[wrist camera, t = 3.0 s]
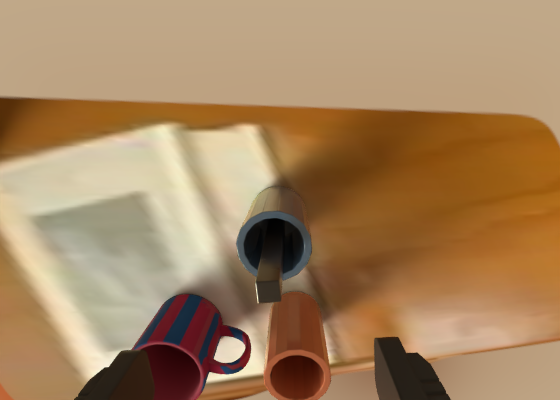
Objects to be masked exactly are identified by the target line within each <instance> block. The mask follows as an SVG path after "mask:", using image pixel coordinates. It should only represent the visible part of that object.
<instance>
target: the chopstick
mask: <svg viewBox="0 0 560 400" xmlns="http://www.w3.org/2000/svg"><path fill="white" fill-rule="evenodd" d="M284 237H285V220H282V219H279V218H271V219H269V221H268V226H267V230H266V235H265V240H264V244H263V249H262V253H261V258H260V263H259V267H258V272H257V277H256V281H255V286H256V294H257V302H258V303H270V302H281V299H282V278H283V257H284Z"/></svg>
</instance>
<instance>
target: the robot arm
mask: <svg viewBox="0 0 560 400" xmlns="http://www.w3.org/2000/svg"><path fill="white" fill-rule="evenodd" d="M374 356H375V381H376V388H377V392H378V396H379V400H450V397H449V396H448V394H446V391H445V389H444V387H443V385H442V383H441V382H439V378H438V376H437V375H436V373H435V371H434V369H433V368H432V366H431V364H430V363H428V362H427V361H426V360H425V359H424V358H423V357H422V356H420V355H419V354H418V353H406V352H405V350H404V348H403V346H402V344H401V342H400V340H399V338H398V337H382V338H375V340H374ZM154 393H155V385H154V380H153V376H152V372H151V367H150V363H149V359H148V355H147V352H146V351H145V350H124V351H121V352H120V353H119V354H118V355H117V357H116V358H115V359H114V361H113V362H112V363H111V365H110V366H109V367H105V368H104V369H102V370H101V371H100V372H99V373H97V374H96V375H95V376H94V377H92V378H91V379H90V380H89V381H88V382H87V384H86V385H85V386H84V388H83V389H82V390H81V391H80V393H79V394H78V397H76V398H75V399H74V400H153V399H154Z"/></svg>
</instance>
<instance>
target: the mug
mask: <svg viewBox="0 0 560 400" xmlns="http://www.w3.org/2000/svg"><path fill="white" fill-rule="evenodd" d="M221 336H229V337H234V338H237V339H239V340H241V341H242V342H243V343H244V344H245V351H244V353H243V355H242V356H241V357H240V358H239V359H238V360H236V361H234V362H231V363H220V362H218V361H216V360H215V359H214V356H215V353H216V349H217V346H218V343H219V340H220V338H221ZM132 350H145V351H146V352H147V355H148V359H149V363H150V367H151V372H152V376H153V380H154V385H155V393H154V399H153V400H196V399H197V398H198V397H199V396H200V394H201V393H202V391H203V389H204V386H205V383H206V380H207V377H208V374H209V372H213V373H217V374H233V373H236V372H239V371H240V370H242V369H243V368H244V367H245V366H246V364H247V363H248V361H249V358H250V354H251V343H250V339H249V337H248V335H247V334H246V333H245V332H243V331H242V330H240V329H238V328H235V327H231V326H227V325H223V322H222V318H221V315H220V313H219V311H218V310H217V308H216V307H215V306H214V305H213V304H212V303H211V302H209V301H208V300H206V299H204V298H202V297H200V296H196V295H191V294H183V295H178V296H174V297H172V298H170V299H169V300H167V301H166V302H165V303H164V304H163V305H162V306H161V308H160V309H159V311H158V312H157V314H156V315H155V316H154V318H153V319H152V321H151V322H150V324H149V325H148V327H147V328H146V329H145V331H144V332H143V334H142V335H141V337H140V338H139V340H138V341H137V342H136V344H135V345H134V347H133V348H132Z"/></svg>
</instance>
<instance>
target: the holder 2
mask: <svg viewBox="0 0 560 400" xmlns="http://www.w3.org/2000/svg"><path fill="white" fill-rule="evenodd" d="M264 382H265V386H266V387H267V389H268V391H269V392H270V394H271V395H272V396H274V397H276V398H277V399H278V400H318V399H319V398H320V397H321V396H322V395H324V394H325V393H326V391H327V389H328V387H329V385H330V382H331V373H330V366H329V359H328V353H327V347H326V341H325V335H324V328H323V322H322V316H321V311H320V307H319V305H318V303H317V302H316V301H315V299H313V298H312V297H311V296H309V295H308V294H305V293H302V292H288V293H285V294H283V295H282V299H281V302H274V303H273V305H272V307H271V312H270V317H269V327H268V336H267V346H266V355H265V365H264Z"/></svg>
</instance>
